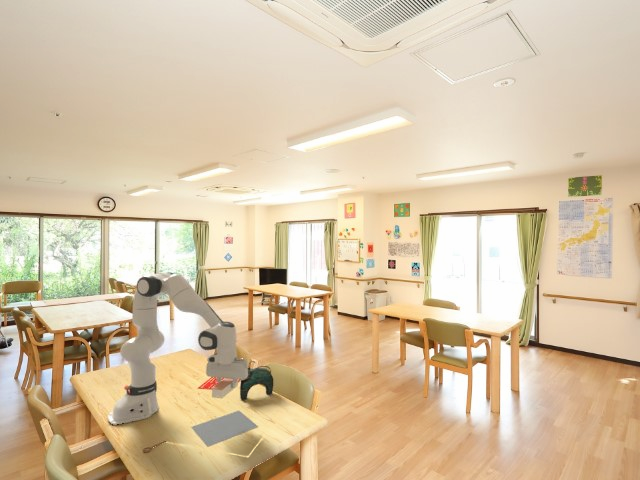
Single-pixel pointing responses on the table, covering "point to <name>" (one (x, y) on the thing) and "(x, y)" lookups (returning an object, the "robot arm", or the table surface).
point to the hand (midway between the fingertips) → (227, 387)
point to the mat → (223, 428)
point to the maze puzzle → (210, 384)
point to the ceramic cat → (256, 381)
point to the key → (153, 446)
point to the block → (223, 388)
